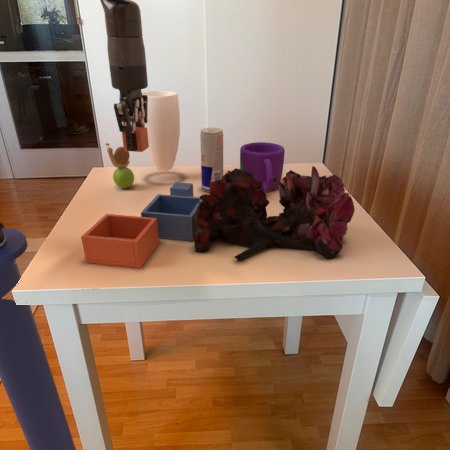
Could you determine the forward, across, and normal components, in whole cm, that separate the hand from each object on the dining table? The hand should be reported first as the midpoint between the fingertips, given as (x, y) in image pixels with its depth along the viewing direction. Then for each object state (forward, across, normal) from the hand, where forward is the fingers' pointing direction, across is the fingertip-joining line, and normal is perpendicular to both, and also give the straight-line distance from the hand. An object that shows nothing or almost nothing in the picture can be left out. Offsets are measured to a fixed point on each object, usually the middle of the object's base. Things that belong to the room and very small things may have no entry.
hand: (136, 147), depth 96 cm
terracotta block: (0, 0, 0) cm, 0 cm away
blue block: (+13, 0, +10) cm, 16 cm away
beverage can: (+13, -11, +15) cm, 23 cm away
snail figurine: (+13, -8, -8) cm, 17 cm away
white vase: (+13, -18, 0) cm, 22 cm away
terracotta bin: (+13, +26, +6) cm, 30 cm away
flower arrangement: (+13, +14, +34) cm, 39 cm away
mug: (+13, -14, +28) cm, 34 cm away
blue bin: (+13, +14, +13) cm, 23 cm away
